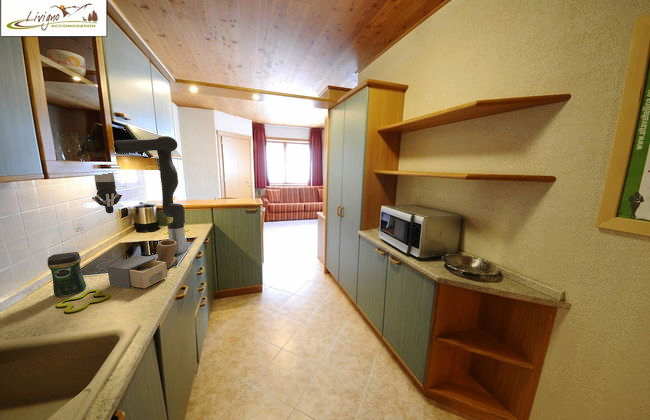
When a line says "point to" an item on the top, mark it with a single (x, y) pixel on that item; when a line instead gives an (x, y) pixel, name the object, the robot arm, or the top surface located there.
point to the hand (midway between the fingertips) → (110, 213)
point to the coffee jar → (66, 273)
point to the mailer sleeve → (125, 270)
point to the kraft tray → (147, 274)
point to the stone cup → (167, 252)
